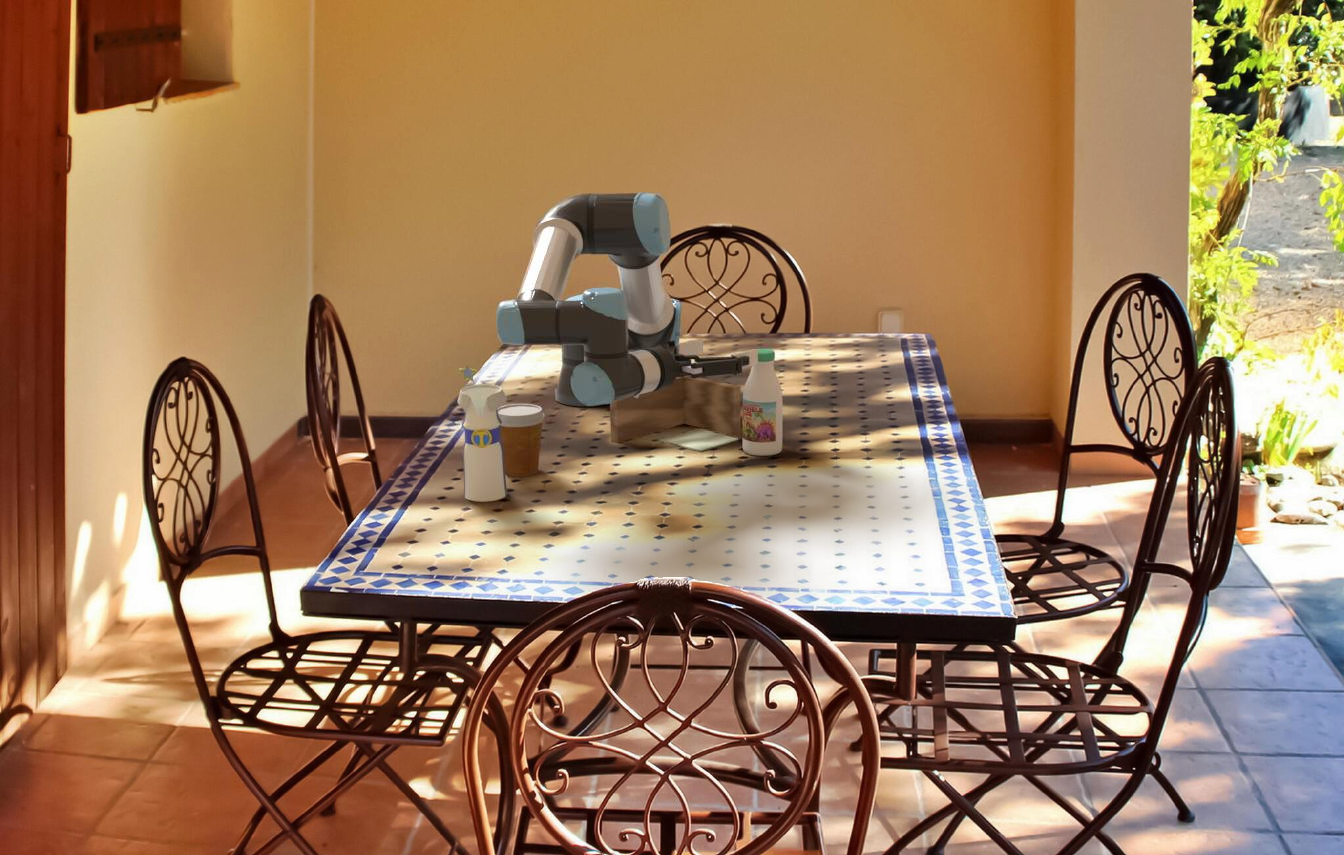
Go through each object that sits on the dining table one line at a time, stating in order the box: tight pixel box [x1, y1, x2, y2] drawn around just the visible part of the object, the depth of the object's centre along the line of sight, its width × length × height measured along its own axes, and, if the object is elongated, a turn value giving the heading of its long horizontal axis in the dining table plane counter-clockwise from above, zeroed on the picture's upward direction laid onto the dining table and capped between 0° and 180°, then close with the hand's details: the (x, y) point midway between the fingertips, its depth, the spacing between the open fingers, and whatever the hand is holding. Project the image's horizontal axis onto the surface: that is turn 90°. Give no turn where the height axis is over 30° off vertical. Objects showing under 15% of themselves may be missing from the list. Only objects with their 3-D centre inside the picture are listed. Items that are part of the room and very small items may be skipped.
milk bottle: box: [742, 348, 783, 457], centre depth 277 cm, size 8×8×20 cm
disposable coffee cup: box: [498, 403, 545, 477], centre depth 267 cm, size 10×10×12 cm
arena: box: [609, 375, 742, 453], centre depth 287 cm, size 18×21×10 cm
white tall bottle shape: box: [457, 362, 508, 502], centre depth 253 cm, size 8×9×25 cm
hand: (728, 351), depth 267 cm, fingers open, 13 cm apart
